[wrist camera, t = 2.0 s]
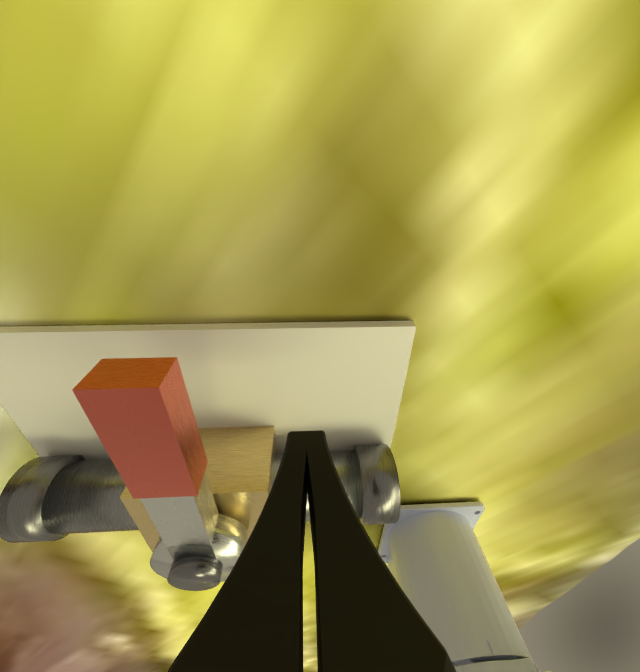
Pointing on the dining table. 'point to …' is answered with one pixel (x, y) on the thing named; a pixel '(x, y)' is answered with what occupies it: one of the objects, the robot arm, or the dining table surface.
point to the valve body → (223, 475)
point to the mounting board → (217, 377)
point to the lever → (163, 465)
